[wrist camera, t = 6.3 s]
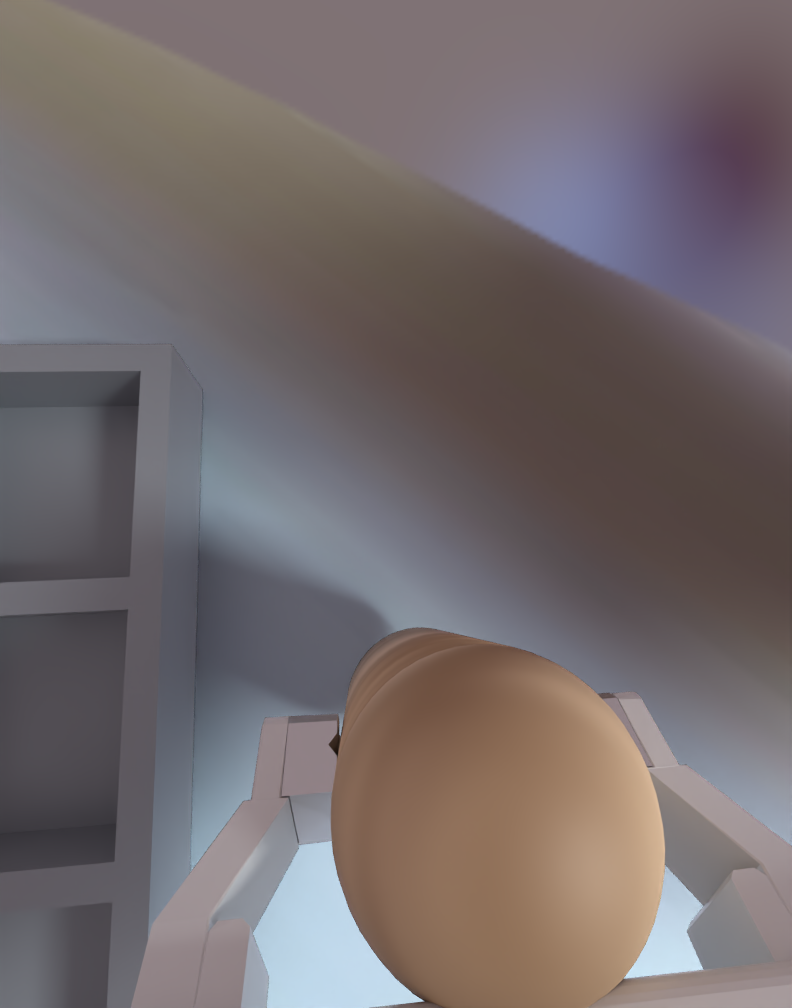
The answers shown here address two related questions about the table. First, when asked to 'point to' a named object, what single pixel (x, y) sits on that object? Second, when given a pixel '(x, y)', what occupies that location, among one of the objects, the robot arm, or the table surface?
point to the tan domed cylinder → (492, 825)
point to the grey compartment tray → (94, 661)
